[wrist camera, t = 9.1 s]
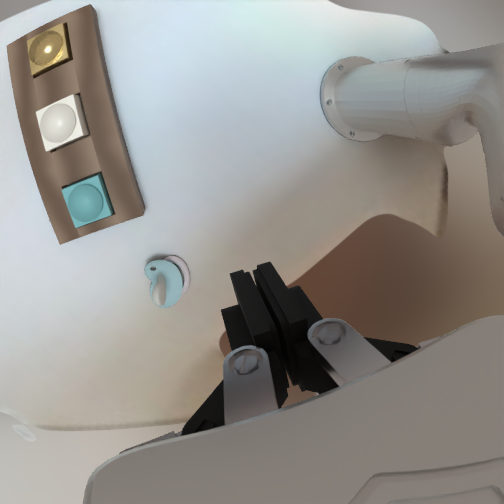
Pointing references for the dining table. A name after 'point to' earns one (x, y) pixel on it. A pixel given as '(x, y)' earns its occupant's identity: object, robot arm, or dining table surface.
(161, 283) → the pacifier
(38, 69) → the brass button
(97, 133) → the button panel
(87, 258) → the dining table surface
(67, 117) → the cream button
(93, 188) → the teal button
